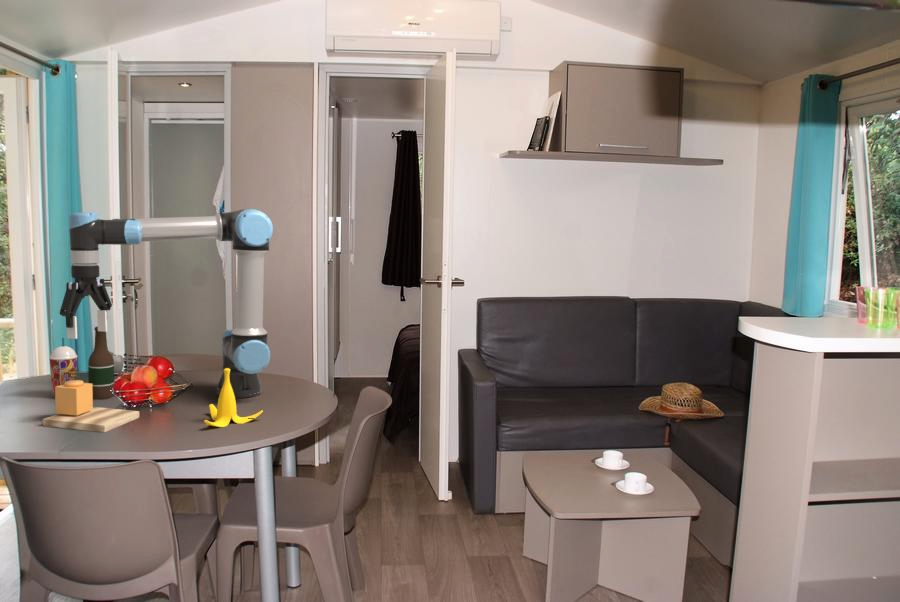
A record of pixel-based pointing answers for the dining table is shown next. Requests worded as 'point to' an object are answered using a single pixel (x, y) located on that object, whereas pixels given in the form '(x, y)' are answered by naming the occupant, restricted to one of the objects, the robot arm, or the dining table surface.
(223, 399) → the banana peel
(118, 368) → the gray wire basket
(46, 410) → the dining table surface
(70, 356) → the smoothie
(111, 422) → the board
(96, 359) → the beer bottle
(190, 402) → the dining table surface
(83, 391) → the orange cube with nub
